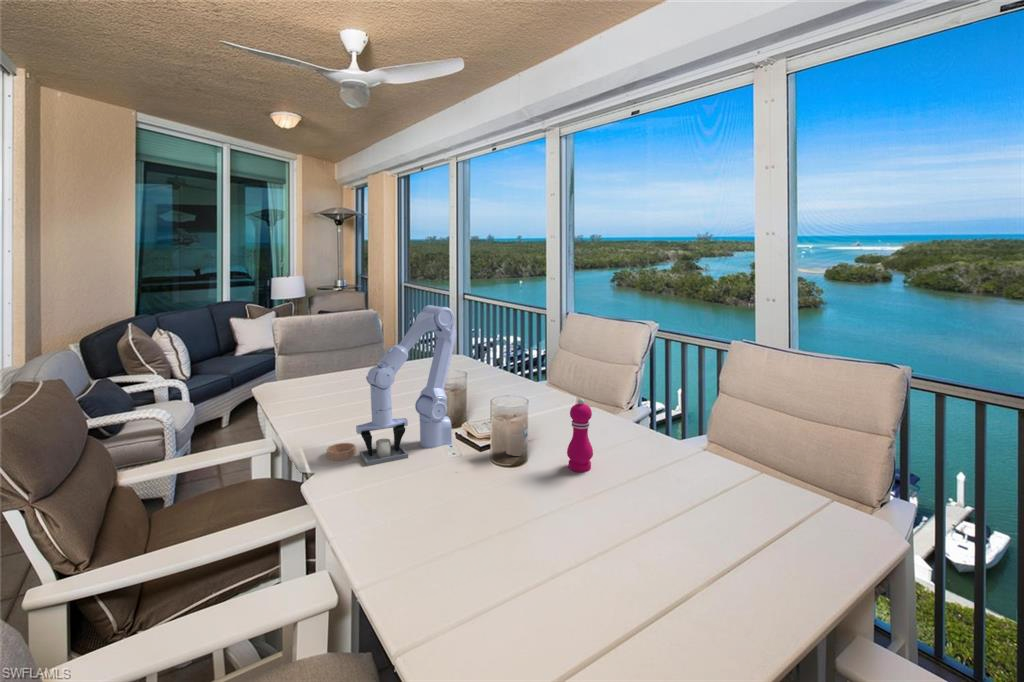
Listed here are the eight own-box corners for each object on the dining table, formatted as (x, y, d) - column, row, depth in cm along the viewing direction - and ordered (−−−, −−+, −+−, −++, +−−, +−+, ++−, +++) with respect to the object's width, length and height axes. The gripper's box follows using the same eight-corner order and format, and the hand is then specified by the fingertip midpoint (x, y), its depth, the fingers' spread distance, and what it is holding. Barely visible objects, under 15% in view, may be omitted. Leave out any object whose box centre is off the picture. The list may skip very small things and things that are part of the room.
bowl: (352, 450, 150) (352, 441, 149) (358, 459, 143) (357, 449, 142) (325, 455, 146) (325, 445, 145) (330, 464, 139) (329, 454, 138)
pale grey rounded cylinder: (388, 453, 145) (388, 437, 145) (392, 457, 142) (391, 441, 141) (375, 455, 144) (374, 440, 143) (378, 460, 140) (377, 444, 139)
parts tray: (399, 450, 150) (399, 444, 149) (408, 460, 142) (408, 453, 142) (359, 457, 144) (359, 451, 144) (366, 468, 136) (366, 462, 136)
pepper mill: (595, 464, 139) (597, 396, 136) (588, 474, 132) (590, 403, 129) (571, 460, 142) (572, 394, 139) (563, 470, 135) (564, 400, 132)
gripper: (402, 401, 147) (403, 443, 150) (352, 407, 140) (355, 452, 143) (409, 406, 141) (410, 451, 143) (358, 414, 134) (360, 461, 136)
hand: (383, 452), depth 143 cm, fingers open, 7 cm apart
